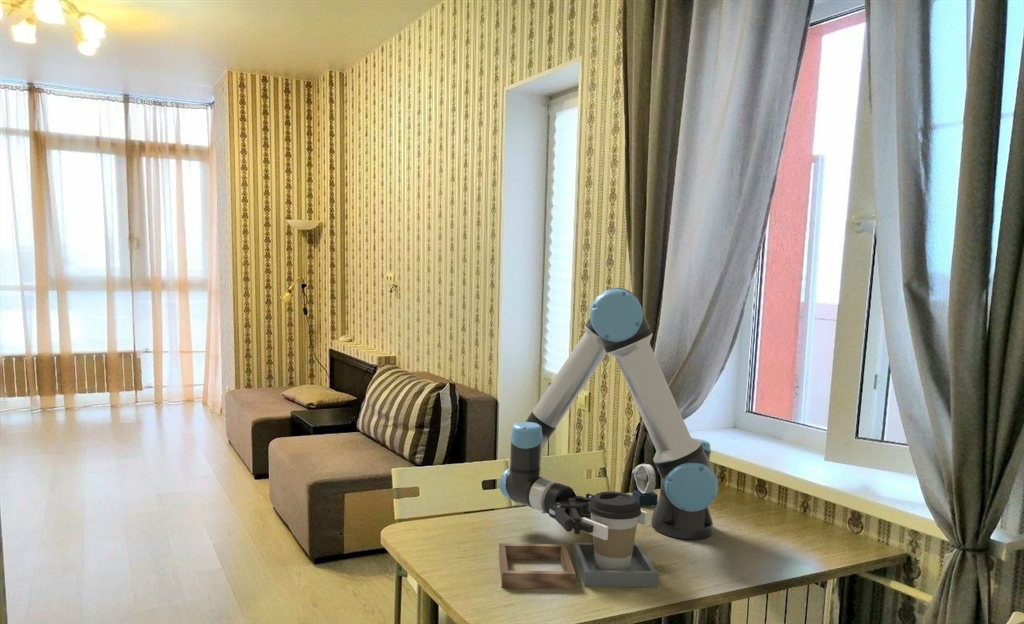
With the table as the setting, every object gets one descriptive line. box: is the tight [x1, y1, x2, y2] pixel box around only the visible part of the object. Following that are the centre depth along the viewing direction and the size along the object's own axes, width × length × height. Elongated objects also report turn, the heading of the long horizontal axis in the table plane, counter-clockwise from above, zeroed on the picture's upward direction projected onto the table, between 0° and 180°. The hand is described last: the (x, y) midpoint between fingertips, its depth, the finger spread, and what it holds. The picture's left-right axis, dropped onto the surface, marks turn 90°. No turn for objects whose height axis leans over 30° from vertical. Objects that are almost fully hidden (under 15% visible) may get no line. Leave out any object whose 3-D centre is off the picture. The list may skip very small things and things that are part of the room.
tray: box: [572, 542, 658, 588], centre depth 147 cm, size 15×15×3 cm
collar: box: [498, 542, 577, 589], centre depth 145 cm, size 15×15×3 cm
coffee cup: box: [588, 491, 642, 571], centre depth 147 cm, size 11×11×15 cm
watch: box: [631, 463, 659, 507], centre depth 191 cm, size 6×8×11 cm
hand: (627, 525), depth 144 cm, fingers open, 13 cm apart
